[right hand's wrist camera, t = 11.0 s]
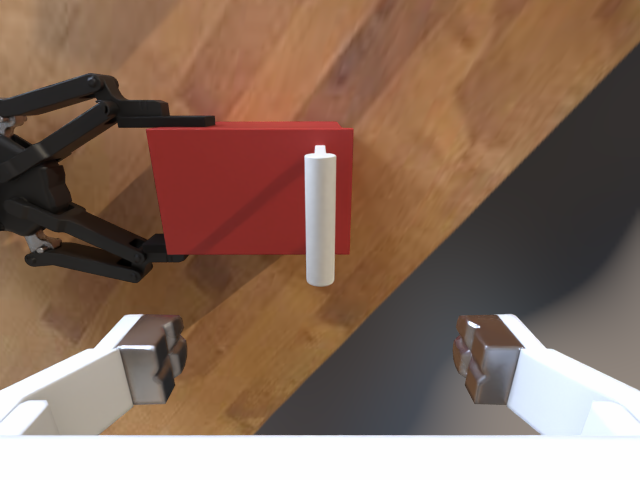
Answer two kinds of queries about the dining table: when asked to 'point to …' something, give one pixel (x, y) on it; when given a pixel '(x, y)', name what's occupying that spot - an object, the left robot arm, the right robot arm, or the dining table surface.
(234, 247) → the lid
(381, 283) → the dining table surface
